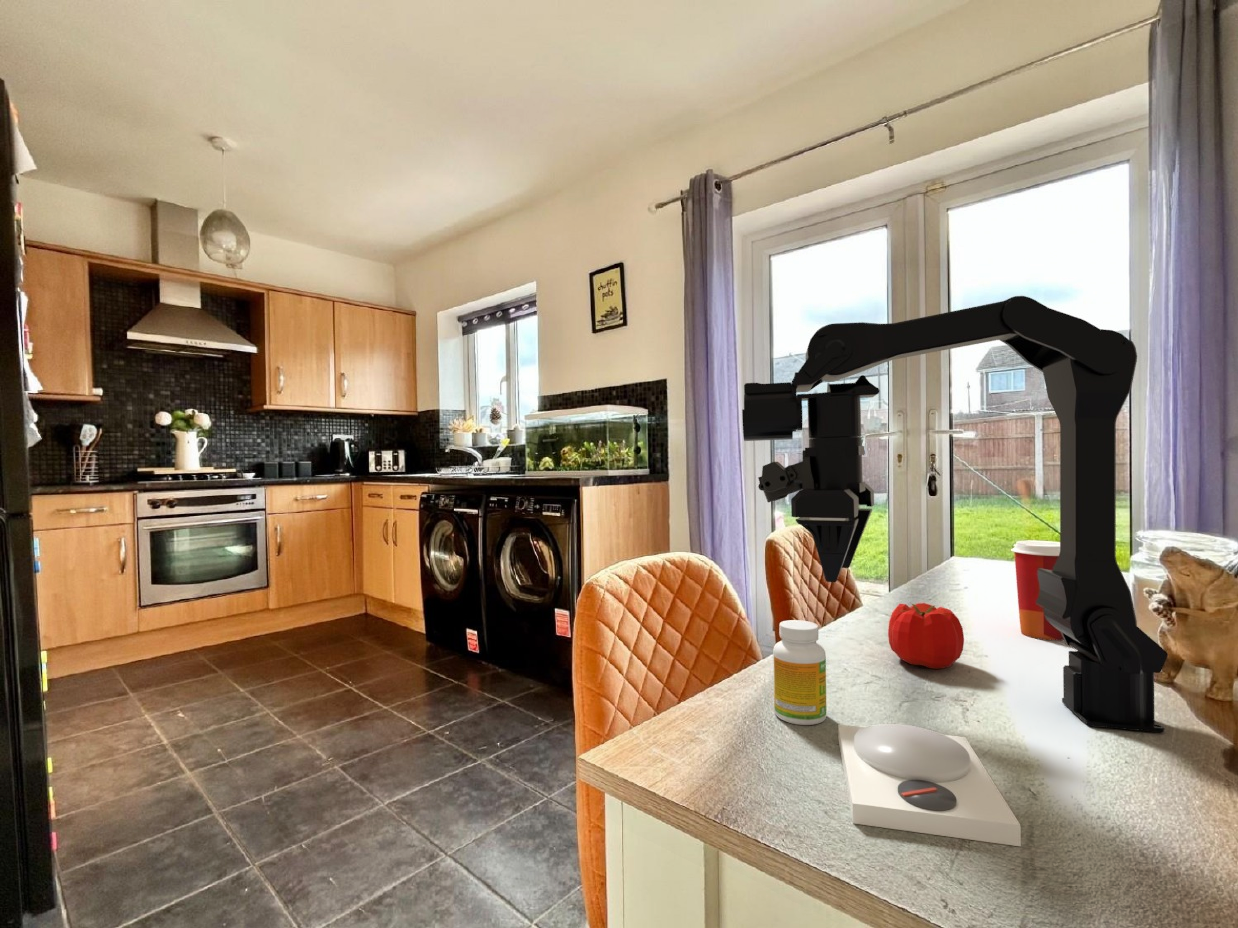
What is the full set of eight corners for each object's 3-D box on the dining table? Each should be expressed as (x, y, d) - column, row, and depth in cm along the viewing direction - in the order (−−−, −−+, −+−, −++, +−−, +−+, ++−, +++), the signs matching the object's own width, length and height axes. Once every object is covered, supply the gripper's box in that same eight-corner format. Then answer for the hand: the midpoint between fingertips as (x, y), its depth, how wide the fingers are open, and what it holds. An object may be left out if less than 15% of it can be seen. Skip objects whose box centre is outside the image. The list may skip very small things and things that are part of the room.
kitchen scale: (965, 752, 56) (964, 728, 56) (1020, 846, 43) (1020, 813, 43) (838, 739, 59) (838, 716, 59) (852, 823, 45) (852, 792, 45)
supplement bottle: (830, 728, 62) (828, 632, 62) (775, 724, 63) (773, 630, 63) (823, 707, 67) (822, 618, 67) (772, 703, 68) (771, 616, 68)
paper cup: (1071, 632, 94) (1071, 541, 94) (1076, 645, 87) (1075, 547, 87) (1011, 625, 98) (1010, 538, 98) (1011, 637, 91) (1010, 544, 91)
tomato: (918, 649, 87) (917, 596, 87) (978, 667, 79) (977, 610, 79) (870, 659, 83) (869, 604, 83) (928, 680, 75) (928, 619, 75)
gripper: (783, 442, 82) (786, 558, 82) (741, 439, 65) (745, 584, 65) (873, 438, 76) (876, 563, 76) (851, 434, 60) (855, 592, 60)
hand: (838, 574), depth 70 cm, fingers open, 9 cm apart
